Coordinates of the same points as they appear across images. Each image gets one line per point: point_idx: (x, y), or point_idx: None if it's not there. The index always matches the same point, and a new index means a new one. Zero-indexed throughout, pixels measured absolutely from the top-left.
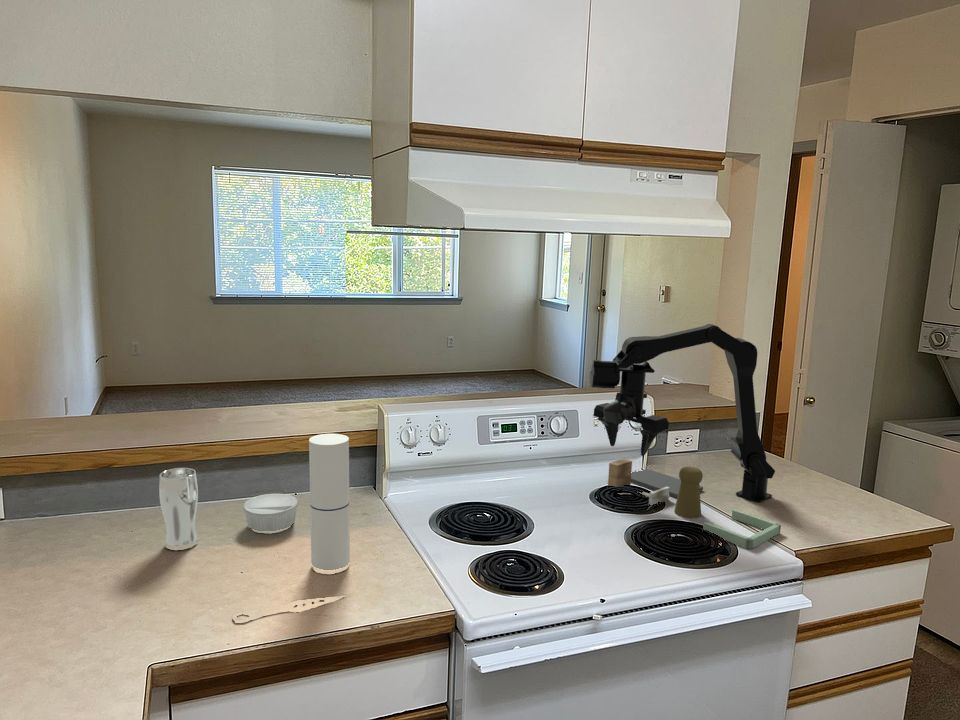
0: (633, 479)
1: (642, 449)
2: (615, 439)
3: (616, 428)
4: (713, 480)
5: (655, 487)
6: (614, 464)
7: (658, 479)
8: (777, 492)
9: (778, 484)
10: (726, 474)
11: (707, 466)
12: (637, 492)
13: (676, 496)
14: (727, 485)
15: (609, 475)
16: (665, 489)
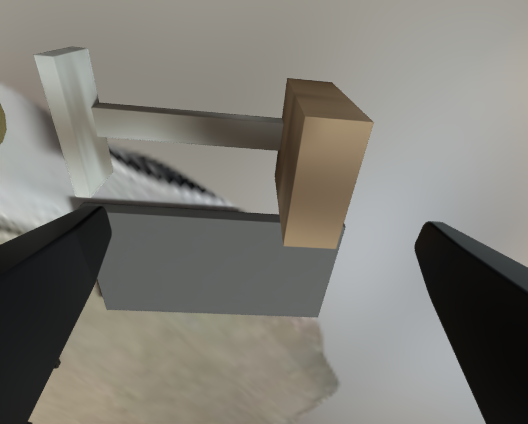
0: None
1: (44, 233)
2: (435, 295)
3: (508, 421)
4: (152, 358)
5: (189, 216)
6: (330, 120)
7: (229, 275)
8: None
9: (61, 407)
10: (163, 393)
11: (222, 401)
12: (193, 116)
13: None
14: (109, 355)
15: (343, 99)
16: (68, 167)
